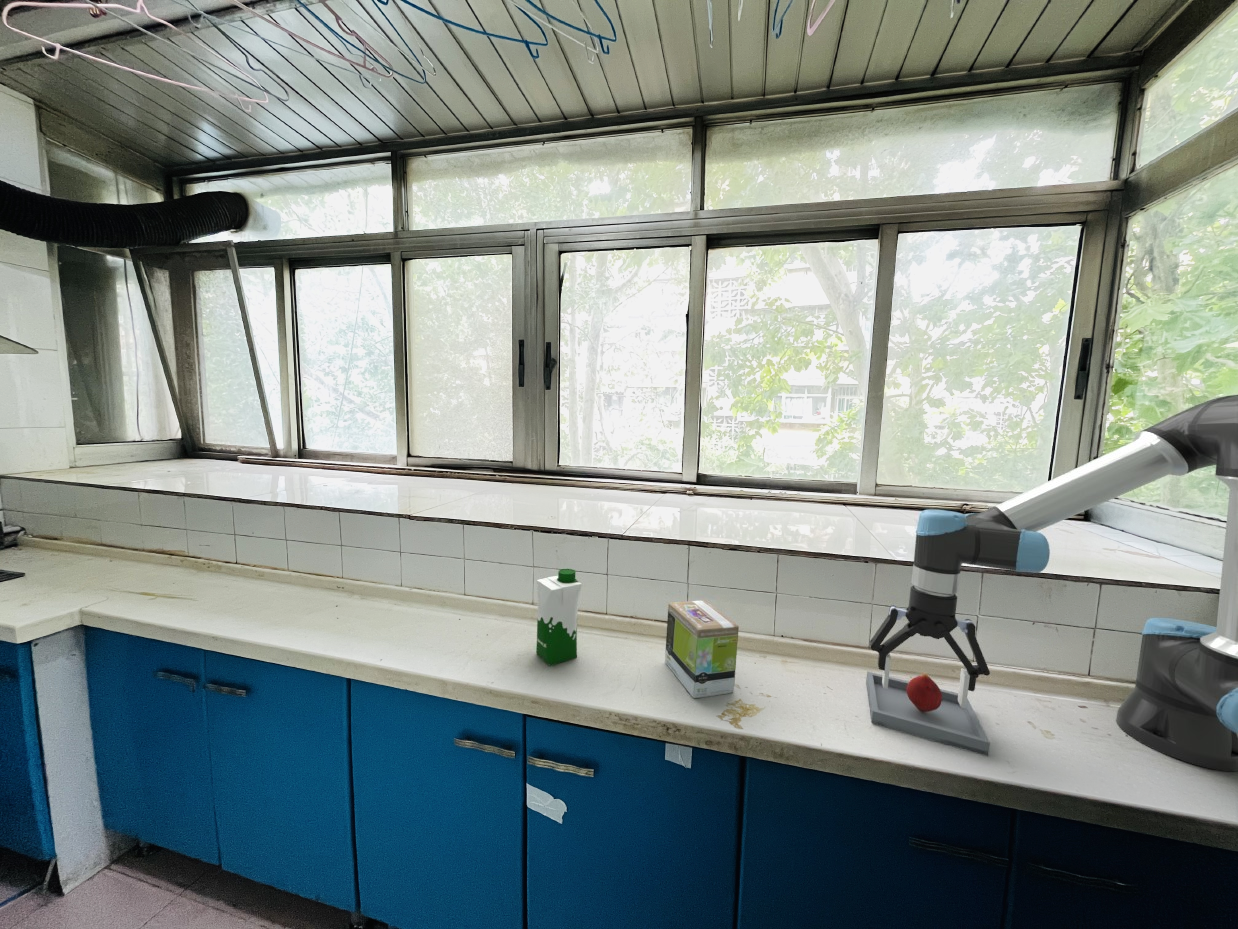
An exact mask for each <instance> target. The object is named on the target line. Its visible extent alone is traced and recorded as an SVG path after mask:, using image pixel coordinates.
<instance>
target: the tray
mask: <svg viewBox="0 0 1238 929" xmlns="http://www.w3.org/2000/svg"><path fill="white" fill-rule="evenodd" d="M882 677H883V674H881V673H875V672H871V671H867V672H866V677H865V678H866V679H865V685H866V691H867V699H868V706H869V714H870V721H871V724H872V725H876V726H880V727H884V728H886V729H890V730H894V731H897V732H899V733H900V732H901V733H904V734H908V735H911V736H916V737H919V738H921V739H925V740H929V741H933V742H937V743H939V744H944V745H947V746H951V747H954V748H958V749H962V750H965V751H968V752H971V753H975V754H978V755H982V756H986V757H989V756H990V755H989V754H990V747H991V742H990V740H989V738H988V736H987V735H986V733H985V730H984V729H983V726H982V724H981V723H980V720H979V718H978V717H977V715H976V714H977V713H975V711H974V709H973V706H972V705H971V702H970V701H969V698H968V697H967V704H966V709H965V708H961V706H960V704H959V702H958V692H954V691H949V690H946V689H942V688H939V689H940V691H941V693H942V702H941V705H940V707H939V708H937V709H936V710H933V711H929V712H921V711H919V710H918V709H917V708H916V706H915V705H914V704H913V703H912V702H911V701H910V699H909V697H908V695H907V689H906V688H907V685H908V683H909V682H910V680H904V679H900V678H895V677H892V676H889V681H888V689H885V688H883V684H882Z"/></svg>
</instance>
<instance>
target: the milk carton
mask: <svg viewBox="0 0 1238 929" xmlns="http://www.w3.org/2000/svg"><path fill="white" fill-rule="evenodd" d="M557 574H558V575H554V576H548V577H546V578H540V579H537V580H536V590H537V617H536V618H537V622H536V623H537V626H536V627H537V628H536V649H535V653H536V654H537V655H538V656H539V657H540V658H541V659H542V660H543V661H544V662H545V663H546V664H548V666H550V667H551V666H555V665H557V664H560V663H563V662H564V663H565V662H567V661H571V660H573V659H576V658H577V657H578V648H577V647H578V639H577V638H578V637H577V636H578V615H579V614H578V611H579V610H578V609H579V608H578V607H579V596H580V593H581V589H582V586H583V584H582V583H581V582H580V581H579V580H577V578H576V570H574V569H572V568H563V569H559V570H558V572H557Z"/></svg>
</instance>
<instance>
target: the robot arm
mask: <svg viewBox="0 0 1238 929" xmlns="http://www.w3.org/2000/svg"><path fill="white" fill-rule="evenodd" d="M1133 438H1134V439H1133V441H1131V442H1129V443H1126V444H1125V445H1123V446H1121V447H1118V448H1116V449H1114V450H1112V451H1109V452H1108V453H1105V454H1103V455H1101V456H1099V457H1097V458H1095V459H1093V460H1091V461H1088V462H1086V463H1085V464H1082V465H1080V466H1078V467H1076V468H1073V469H1072V470H1069V471H1067V472H1066V473H1063V474H1060V475H1059V476H1057V477H1054V478H1052V479H1050V480H1048V481H1045V482H1043V483H1042V484H1039V485H1037V486H1036V487H1034V488H1032V489H1029V490H1027V491H1024V492H1023V493H1020V494H1018V495H1017V496H1014V497H1012V498H1010V499H1008V500H1006V501H1004V502H1001V503H999V504H997V505H995V506H993V507H991V508H988V509H985V510H984V511H982V512H980V513H978V512H973V513H972V512H971V513H966V514H963V513H961V512H958V511H953V510H952V511H951V510H945V509H936V508H935V509H934V508H933V509H932V508H931V509H924V510H922V511H921V512H920V513H919V516H918V521H917V522H918V523H917V527H916V530H915V534H916V535H915V544H914V545H915V546H914V556H913V565H912V571H911V572H912V573H911V574H912V575H911V584H912V586H911V587H910V591H909V600H908V607H907V608H906V609H902V608H898V607H897V606H896V605H890V606H889V610H888V615H887V616H886V617H885V619H884V621H883V622H882V623H881V625H880V626H879V627H878V629H877V631H875V633H874V635H873V637H871V639H870V640H869V647H870V649H871V650H872V651H875V652H877V653H878V657H877V666H878V669H879V670H881V671H882V675H883V677H882V684H883V688H885V689H888V681H889V677H890V671H891V670H890V668H891V662H892V661H891V659H892V657H891V654H890V653H892V652H893V651H894V650H895V649H896V648H899V646H901V645H902V644H903V643H904V642H906V641H907V640H908V639H910V638H911V637H914V636H915V635H918V634H919V636H922V637H929V638H933V639H936V640H940V639H943V638H944V640H945V641H946V643H947V644H948V645H949V647H950V648H951V649H952V651H953V652H954V654H955V655H956V657H958V659H959V661H960V662H961V664H962V665H963V666H964V668H960V677H959V684H958V692H957V693H958V702H959V704H960V706H961V708H965V709H966V704H967V698H968V695H969V691H970V692H974V691H975V690H976V682H977V679H978V678H979V677H980V676H981V675H983V676H987V677H988V676H990V674H991V672H990V669H989V666H988V665H987V664H988V663H987V662H986V659H985V657H984V654H983V652H982V649H981V647H980V645H979V642H978V640H977V637H976V625H975V623H974V622H973V621H972V620H971V619H969V618H966V619H964V620H963V619H956V614H957V604H958V596H957V595H956V594H958V593H959V585H960V577H961V570H962V565H970V566H979V567H987V568H993V569H999V570H1007V571H1011V572H1012V571H1014V572H1017V573H1021V572H1022V573H1035V574H1037V573H1041V572H1043V571H1044V570H1045V569H1046V568H1047V566H1048V564H1049V560H1050V554H1051V552H1050V551H1051V550H1050V543H1049V541H1048V539H1047V537H1046V536H1045V535H1044V534H1043V533H1041V532H1038V531H1041V530H1044V529H1046V528H1047V527H1050V526H1053V525H1055V524H1058V523H1060V522H1063V521H1065V520H1066V519H1070V517H1074V516H1076V515H1079V514H1080V513H1083V512H1086V511H1088V510H1090V509H1092V508H1094V507H1097V506H1099V505H1101V504H1103V503H1106V502H1108V501H1111V500H1113V499H1116V498H1118V497H1120V496H1122V495H1125V494H1126V493H1129V492H1132V491H1134V490H1136V489H1138V488H1139V489H1140V488H1141V487H1143V486H1145V485H1148V484H1151V483H1152V482H1155V481H1158V480H1159V479H1162V478H1165V477H1166V476H1169V475H1172V476H1177V477H1178V476H1179V477H1181V476H1182V477H1183V476H1185V475H1187V474H1189V473H1191V472H1194V471H1196V470H1199V469H1203V468H1207V467H1213V466H1215V475H1214V476H1215V478H1216V479H1217V480H1219V481H1220V482H1222V483H1223V484H1225V485H1226V486H1227V487H1228V489H1229V494H1228V503H1227V513H1226V514H1227V515H1226V525H1225V535H1224V543H1223V544H1224V545H1223V554H1222V555H1223V557H1222V566H1221V577H1220V588H1219V598H1218V610H1217V618H1216V619H1217V620H1216V626H1212V625H1209V624H1203V623H1199V622H1194V621H1187V620H1182V619H1176V618H1170V617H1151V618H1148V619H1147V620H1146V621H1145V625H1144V627H1143V630H1142V632H1141V636H1142V637H1141V643H1140V652H1139V658H1138V662H1137V663H1138V665H1137V671H1136V679H1135V685H1134V688H1133V689H1132V691H1131V692H1130V693H1129V695H1128V696H1126V698H1125V700H1124V701H1123V702H1122V703H1121V705H1120V706H1119V707H1118V709H1117V712H1116V719H1115V721H1116V724H1117V725H1118V726H1119V728H1120V729H1121V730H1123V731H1124V732H1125V733H1126V734H1128V735H1129V736H1130V737H1132V738H1134V739H1135V740H1137V741H1138V742H1140V743H1142V744H1144V745H1146V746H1148V747H1149V748H1151V749H1153V750H1156V751H1158V752H1161V753H1162V754H1164V755H1167V756H1170V757H1172V758H1174V759H1178V760H1180V761H1183V762H1186V763H1189V764H1193V765H1196V766H1199V767H1202V768H1206V769H1207V768H1208V769H1210V770H1215V771H1216V770H1217V771H1224V772H1237V771H1238V394H1232V395H1224V396H1220V397H1215V398H1212V399H1209V400H1207V401H1204V402H1201V403H1198V404H1195V405H1193V406H1192V407H1189V408H1187V409H1184V410H1182V411H1179V412H1178V413H1176V414H1174V415H1172V416H1169V417H1168V418H1165V419H1163V420H1162V421H1159V422H1157V423H1155V424H1154V425H1151V426H1149V427H1147V428H1145V429H1143V430H1140V431H1138V432H1137V433H1136V434H1134V437H1133ZM903 617H906V620H907V623H905V624H904V626H902V628H901V629H900V630H898V631H896V632H895V634H893V635H892V636H890V637H889V638H888V639H887V640H885V638H887V636H888V635H889V633H891V630H892V629H893V628H894V627H895V624H896V623H897V621H900V620H901V619H902V618H903ZM957 627H959V628H960V631H961V632H963V633H964V635H965V637H966V640H967V642H968V644H969V647H970V649H971V650H970V651H972V654H973V656H974V660H975V662H976V664H973V663H972V662H971V661H970V659H969V658H968V656H967V655H966V654H965V653H964V651H963V649H962V648H961V646H960V645H959V643H957V641H956V639H955V638H954V636H952V634H951V632H953V631H954V630H955V629H956V628H957ZM884 640H885V641H884ZM979 675H980V676H979Z"/></svg>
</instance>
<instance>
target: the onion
mask: <svg viewBox="0 0 1238 929" xmlns="http://www.w3.org/2000/svg"><path fill="white" fill-rule="evenodd" d="M906 689H907V695H908V697H909V699H910V701H911V702H912V703H913V704H914V705H915V706H916V708H917V709H918V710H919V711H921V712H929V711H933V710H936V709H937V708H939V707H940V705H941V702H942V693H941V691H940V689H941V688H939V686H938V684H937V683H936V682H935V681H934V680H933V679H932V678H931V677H930V676H929V674H928V673H927V672H925V671H923V672H922V675H918V676H915V677H913V678H911V680H909V683H908V685H907V688H906Z"/></svg>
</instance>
